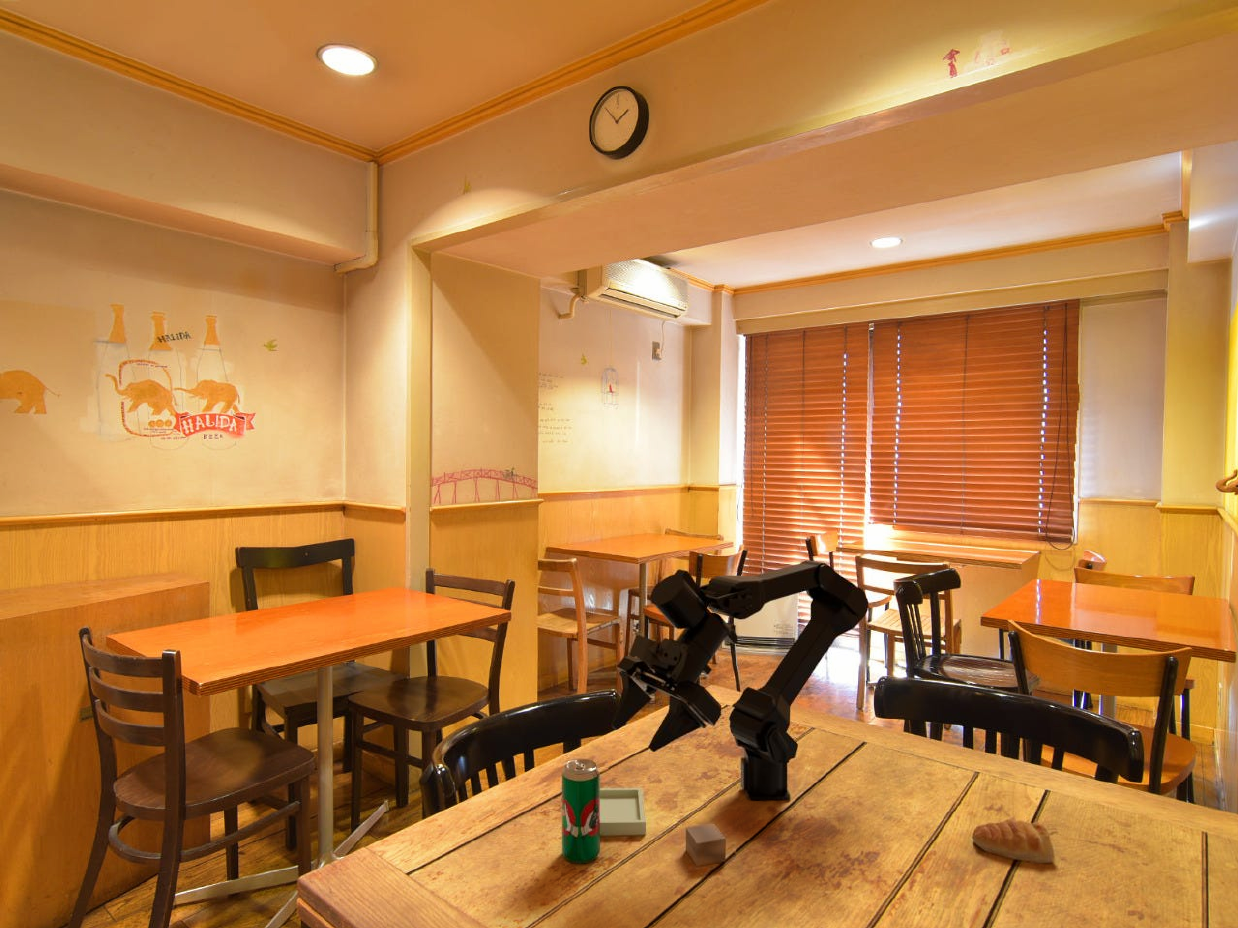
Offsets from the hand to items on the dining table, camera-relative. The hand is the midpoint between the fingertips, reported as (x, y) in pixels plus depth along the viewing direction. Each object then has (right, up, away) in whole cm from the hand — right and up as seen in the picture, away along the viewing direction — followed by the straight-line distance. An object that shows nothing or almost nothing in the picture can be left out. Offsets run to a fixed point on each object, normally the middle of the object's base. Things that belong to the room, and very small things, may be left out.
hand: (631, 738), depth 99 cm
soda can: (-7, -14, -4) cm, 16 cm away
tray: (-3, -14, +6) cm, 15 cm away
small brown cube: (+10, -14, -5) cm, 17 cm away
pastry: (+52, -14, -3) cm, 54 cm away
